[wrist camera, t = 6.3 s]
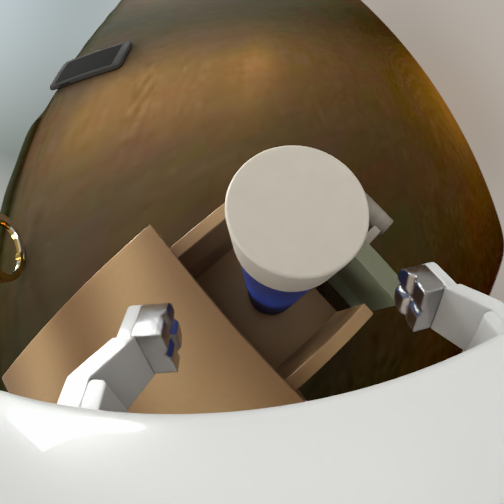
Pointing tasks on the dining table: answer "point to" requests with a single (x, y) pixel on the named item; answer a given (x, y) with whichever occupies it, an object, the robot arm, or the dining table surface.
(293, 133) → the dining table surface
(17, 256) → the ring
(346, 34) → the dining table surface
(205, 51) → the dining table surface
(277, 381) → the cabinet
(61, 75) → the cell phone
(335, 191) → the disc
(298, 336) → the drawer
